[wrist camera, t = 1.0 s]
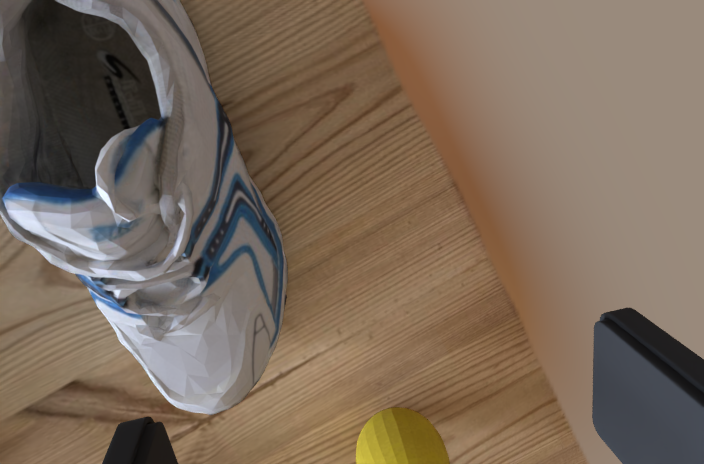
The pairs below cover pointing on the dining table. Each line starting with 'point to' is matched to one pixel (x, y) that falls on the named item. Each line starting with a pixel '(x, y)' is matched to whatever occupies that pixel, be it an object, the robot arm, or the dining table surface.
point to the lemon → (400, 439)
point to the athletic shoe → (140, 189)
